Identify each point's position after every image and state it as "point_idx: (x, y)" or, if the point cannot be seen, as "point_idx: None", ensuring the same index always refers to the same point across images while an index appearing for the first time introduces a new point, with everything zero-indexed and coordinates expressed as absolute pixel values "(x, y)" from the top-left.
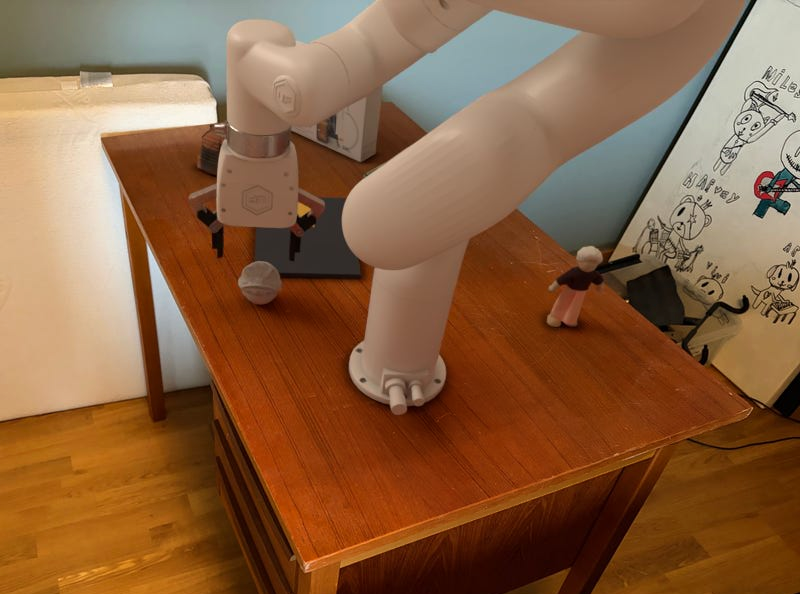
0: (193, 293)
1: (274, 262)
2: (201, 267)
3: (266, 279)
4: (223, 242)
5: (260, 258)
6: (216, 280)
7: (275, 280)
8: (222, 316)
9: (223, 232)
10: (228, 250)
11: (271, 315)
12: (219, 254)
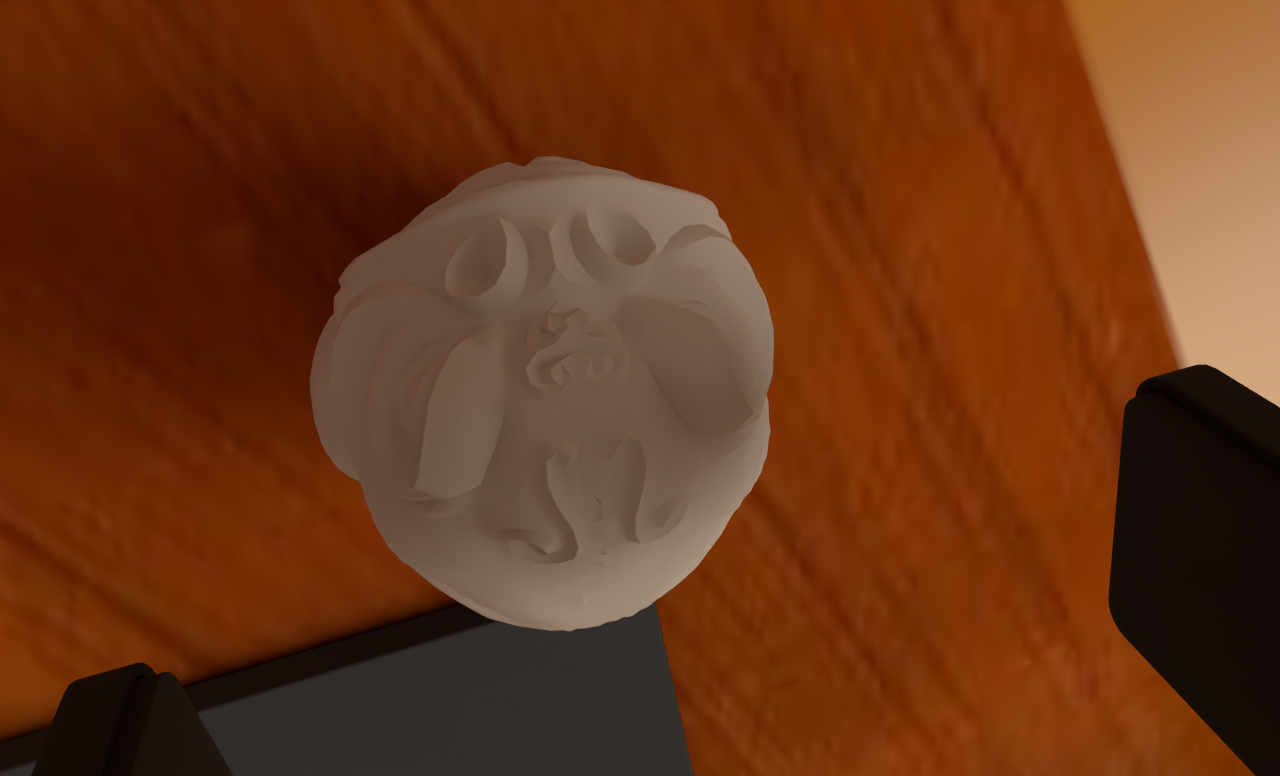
0: (1043, 236)
1: (525, 714)
2: (1005, 512)
3: (454, 323)
4: (1171, 631)
5: (637, 714)
6: (896, 424)
7: (362, 393)
8: (794, 6)
9: (1274, 766)
10: (854, 710)
11: (362, 137)
12: (1220, 397)
